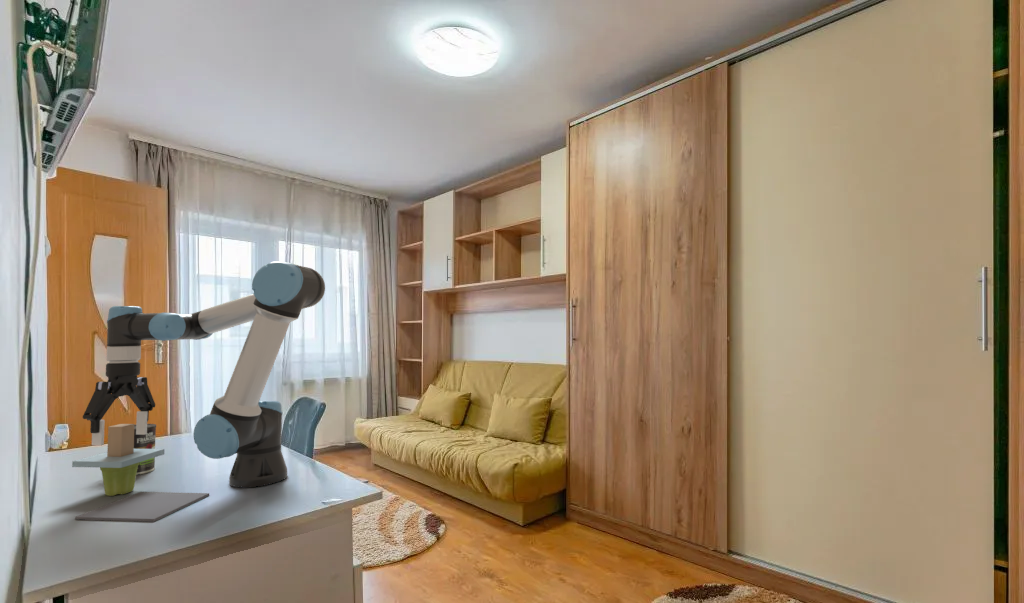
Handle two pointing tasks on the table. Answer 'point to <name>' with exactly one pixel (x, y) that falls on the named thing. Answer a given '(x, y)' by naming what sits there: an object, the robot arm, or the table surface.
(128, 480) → the plant pot
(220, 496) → the table surface
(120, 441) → the cover lid
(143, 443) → the coffee can
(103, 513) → the mat
